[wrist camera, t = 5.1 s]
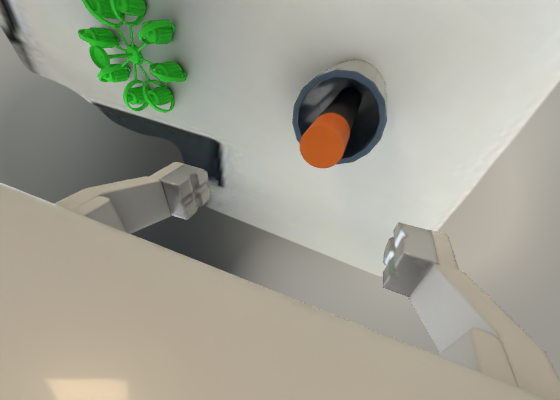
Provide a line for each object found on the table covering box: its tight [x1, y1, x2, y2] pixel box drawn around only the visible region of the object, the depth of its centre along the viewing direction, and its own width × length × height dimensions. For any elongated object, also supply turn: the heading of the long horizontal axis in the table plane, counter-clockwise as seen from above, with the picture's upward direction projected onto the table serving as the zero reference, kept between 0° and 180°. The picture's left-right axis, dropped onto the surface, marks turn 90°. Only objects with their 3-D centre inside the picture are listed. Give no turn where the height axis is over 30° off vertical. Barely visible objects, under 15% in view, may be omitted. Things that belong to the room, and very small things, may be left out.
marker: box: [300, 87, 361, 168], centre depth 19 cm, size 3×3×14 cm
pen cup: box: [292, 60, 387, 164], centre depth 22 cm, size 7×7×9 cm
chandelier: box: [78, 0, 186, 112], centre depth 28 cm, size 15×15×7 cm
